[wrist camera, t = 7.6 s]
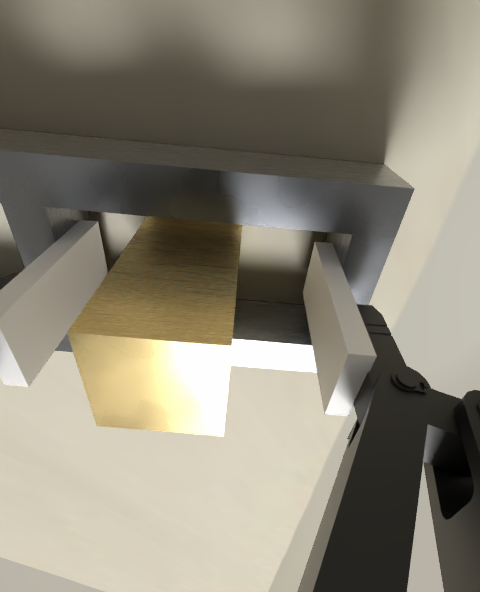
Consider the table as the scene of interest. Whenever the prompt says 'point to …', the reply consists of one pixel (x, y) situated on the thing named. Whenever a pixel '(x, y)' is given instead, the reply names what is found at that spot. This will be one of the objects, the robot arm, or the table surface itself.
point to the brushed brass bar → (162, 329)
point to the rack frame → (208, 212)
